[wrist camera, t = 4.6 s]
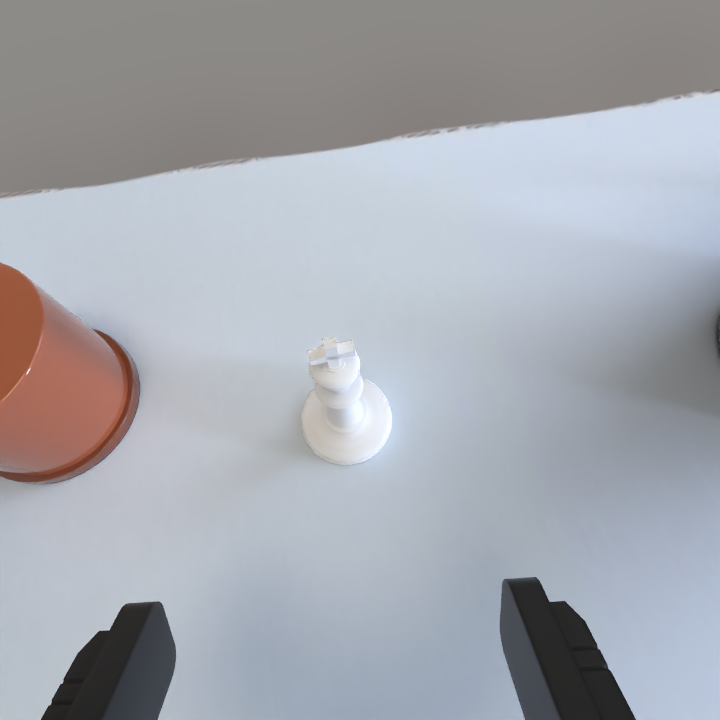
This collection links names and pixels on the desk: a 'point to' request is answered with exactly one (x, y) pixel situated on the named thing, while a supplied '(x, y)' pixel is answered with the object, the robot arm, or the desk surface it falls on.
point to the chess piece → (343, 407)
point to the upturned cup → (57, 387)
